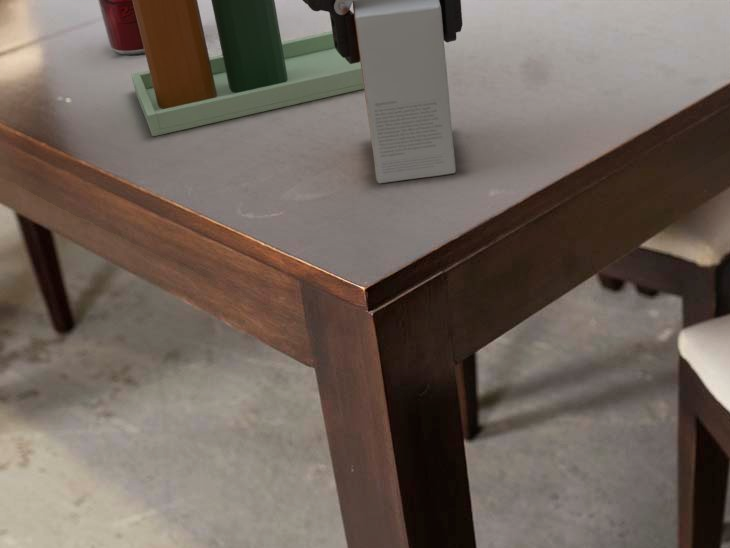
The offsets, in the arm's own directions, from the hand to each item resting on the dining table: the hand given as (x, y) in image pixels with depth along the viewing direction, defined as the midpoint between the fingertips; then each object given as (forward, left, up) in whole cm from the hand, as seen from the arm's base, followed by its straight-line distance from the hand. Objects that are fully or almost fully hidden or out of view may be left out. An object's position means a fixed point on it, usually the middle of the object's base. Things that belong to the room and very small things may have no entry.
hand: (399, 49), depth 84 cm
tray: (-6, +24, -9) cm, 26 cm away
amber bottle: (-15, +24, -9) cm, 29 cm away
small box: (0, 0, -9) cm, 9 cm away
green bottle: (-8, +24, -9) cm, 27 cm away
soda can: (-16, +46, -9) cm, 50 cm away
